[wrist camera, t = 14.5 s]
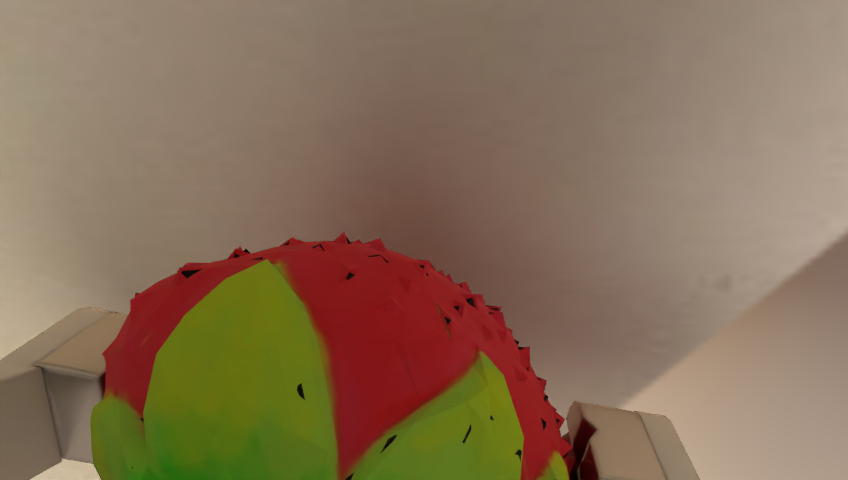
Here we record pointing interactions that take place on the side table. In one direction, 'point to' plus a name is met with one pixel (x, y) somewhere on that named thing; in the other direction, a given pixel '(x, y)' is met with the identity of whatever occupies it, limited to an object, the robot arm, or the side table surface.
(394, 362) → the strawberry
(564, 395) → the side table surface
